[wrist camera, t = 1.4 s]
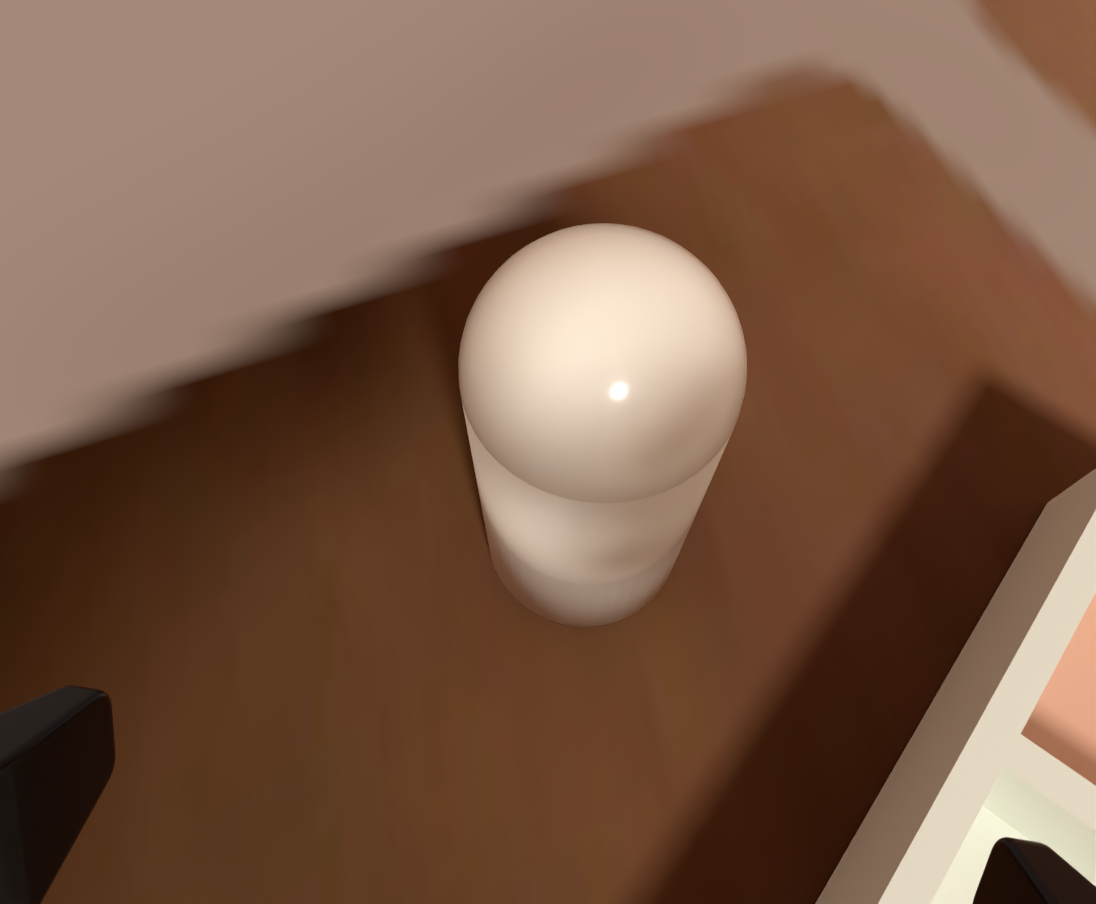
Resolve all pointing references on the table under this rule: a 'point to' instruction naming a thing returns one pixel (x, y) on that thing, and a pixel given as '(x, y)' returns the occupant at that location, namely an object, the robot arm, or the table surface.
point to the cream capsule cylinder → (597, 414)
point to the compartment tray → (998, 734)
